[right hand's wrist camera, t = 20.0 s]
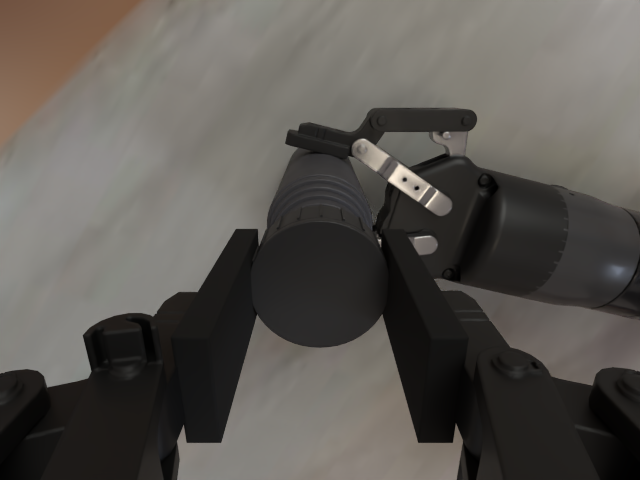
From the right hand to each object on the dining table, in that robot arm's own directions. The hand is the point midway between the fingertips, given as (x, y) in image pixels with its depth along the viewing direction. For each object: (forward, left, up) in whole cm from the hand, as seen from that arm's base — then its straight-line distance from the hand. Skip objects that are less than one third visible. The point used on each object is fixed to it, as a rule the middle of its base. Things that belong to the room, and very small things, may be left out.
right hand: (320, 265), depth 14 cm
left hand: (-3, 0, -11) cm, 12 cm away
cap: (0, 0, +1) cm, 1 cm away
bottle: (0, 0, -18) cm, 18 cm away
